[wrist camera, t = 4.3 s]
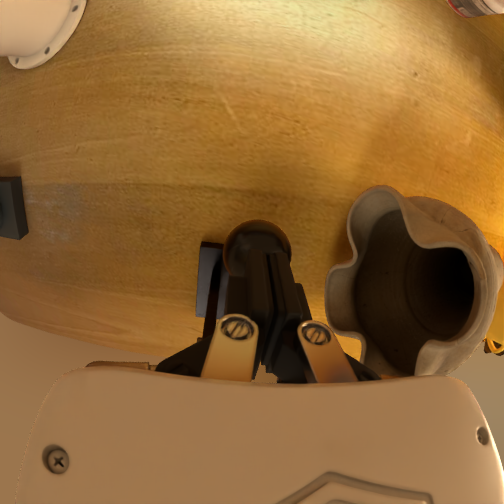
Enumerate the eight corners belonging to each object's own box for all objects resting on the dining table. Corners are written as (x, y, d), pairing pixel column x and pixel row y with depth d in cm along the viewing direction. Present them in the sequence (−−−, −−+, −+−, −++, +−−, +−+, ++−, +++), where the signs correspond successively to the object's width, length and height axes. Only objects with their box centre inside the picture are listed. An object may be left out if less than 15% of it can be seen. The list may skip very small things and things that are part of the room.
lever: (229, 201, 13) (223, 252, 11) (296, 211, 14) (303, 262, 11) (212, 335, 25) (209, 368, 23) (247, 339, 26) (246, 371, 23)
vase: (562, 238, 16) (541, 224, 7) (505, 373, 23) (392, 474, 14) (456, 195, 35) (326, 163, 26) (424, 309, 42) (295, 339, 33)
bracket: (201, 241, 29) (182, 317, 19) (274, 250, 30) (291, 328, 20) (196, 310, 34) (184, 387, 24) (258, 317, 35) (264, 394, 24)
